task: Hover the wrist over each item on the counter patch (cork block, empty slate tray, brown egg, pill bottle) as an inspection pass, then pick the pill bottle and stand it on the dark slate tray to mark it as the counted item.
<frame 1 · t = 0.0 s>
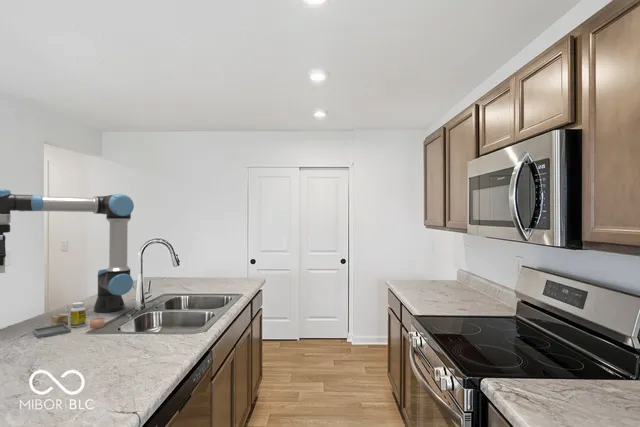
pill bottle: (78, 326, 179), on the counter
brown egg: (97, 327, 178), on the counter
cork block: (59, 325, 179), on the counter
slate tray: (51, 332, 169), on the counter
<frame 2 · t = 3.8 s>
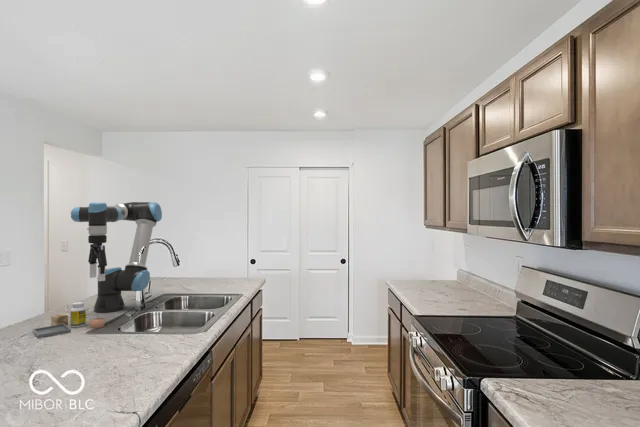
hand: (97, 279, 178), 23 cm above the counter, fingers open, 13 cm apart
nothing on the counter moved.
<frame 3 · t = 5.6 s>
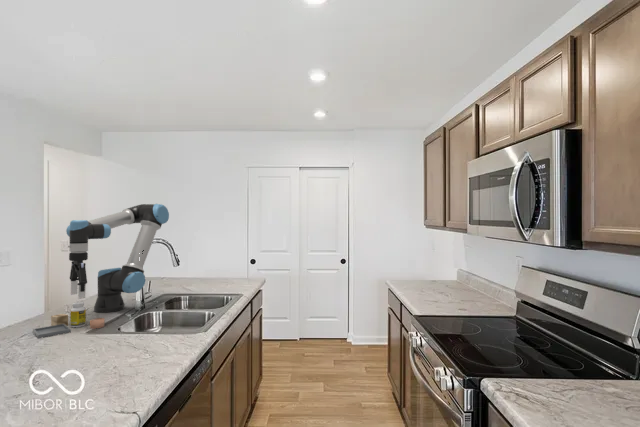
hand: (77, 296, 179), 14 cm above the counter, fingers open, 13 cm apart
nothing on the counter moved.
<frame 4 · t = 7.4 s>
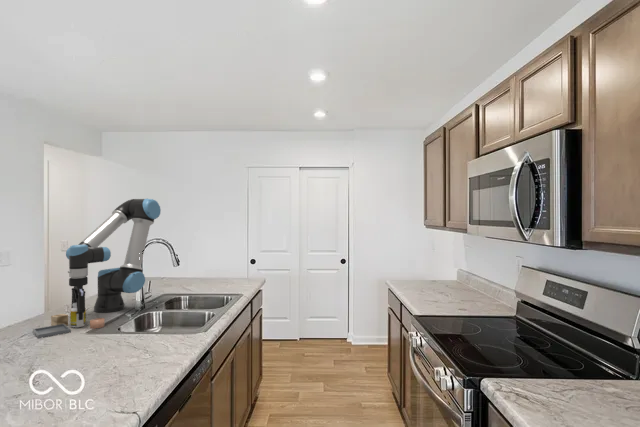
hand: (78, 325, 179), 0 cm above the counter, fingers closed on pill bottle, 6 cm apart
pill bottle: (78, 326, 179), on the counter, touching gripper
everything else where it was.
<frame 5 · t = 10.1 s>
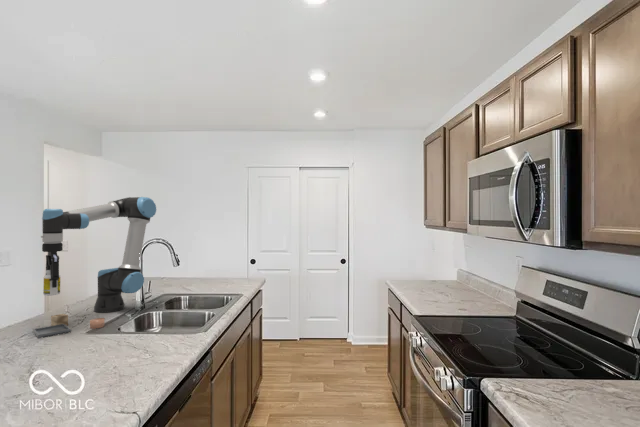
hand: (52, 293, 169), 18 cm above the counter, fingers closed on pill bottle, 6 cm apart
pill bottle: (51, 294, 169), point 17 cm above the counter, touching gripper
everything else where it was.
when the fingers open (2 cm above the counter, at t = 13.1 s): pill bottle drops 1 cm, resting on slate tray.
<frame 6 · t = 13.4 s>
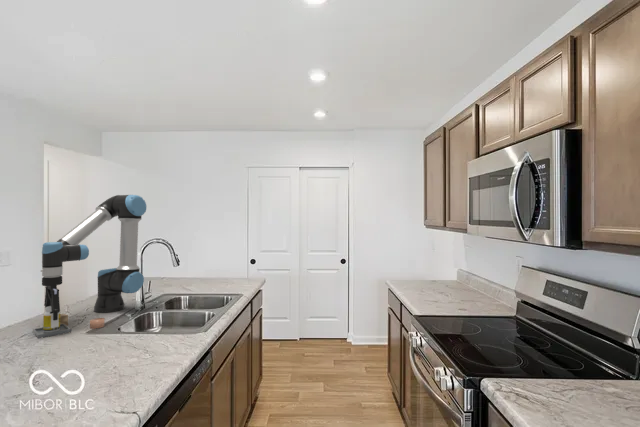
hand: (51, 324, 169), 3 cm above the counter, fingers open, 11 cm apart
pill bottle: (51, 331, 169), resting on slate tray
everything else where it was.
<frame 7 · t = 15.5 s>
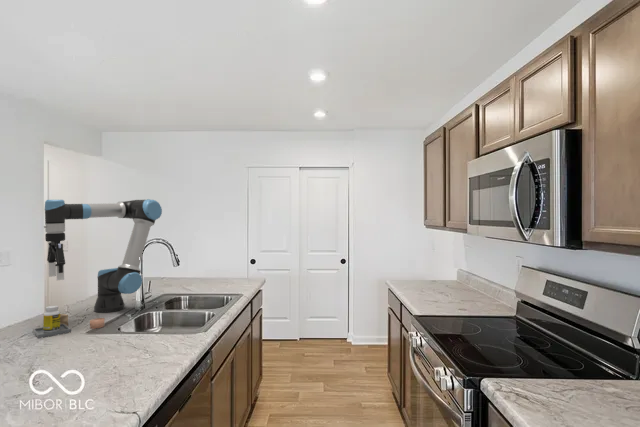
hand: (56, 278, 174), 24 cm above the counter, fingers open, 13 cm apart
nothing on the counter moved.
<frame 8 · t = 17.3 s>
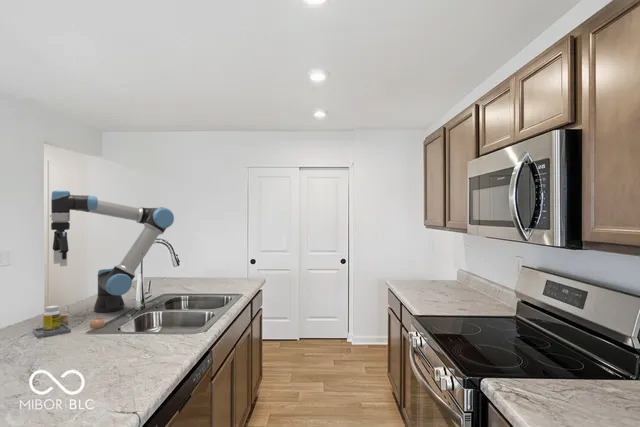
hand: (60, 264, 184), 29 cm above the counter, fingers open, 13 cm apart
nothing on the counter moved.
at the end: pill bottle inside the target area on the slate tray (0.0 cm from its centre), point 0.4 cm above the slate tray's base; pill bottle tilted 0°; the gripper is holding nothing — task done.
